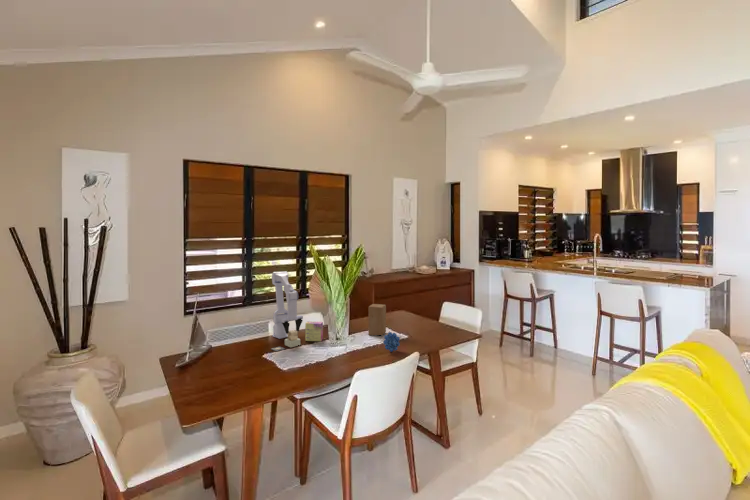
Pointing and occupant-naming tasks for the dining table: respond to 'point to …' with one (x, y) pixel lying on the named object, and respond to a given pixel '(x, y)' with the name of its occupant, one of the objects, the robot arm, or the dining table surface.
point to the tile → (277, 348)
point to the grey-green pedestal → (292, 342)
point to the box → (313, 331)
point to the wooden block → (377, 319)
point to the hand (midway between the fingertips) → (292, 332)
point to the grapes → (391, 341)
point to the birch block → (293, 335)
